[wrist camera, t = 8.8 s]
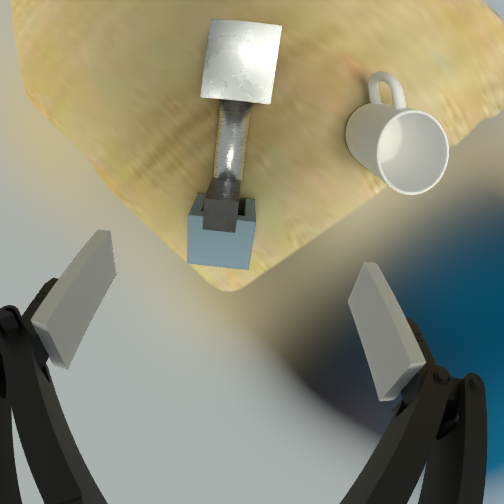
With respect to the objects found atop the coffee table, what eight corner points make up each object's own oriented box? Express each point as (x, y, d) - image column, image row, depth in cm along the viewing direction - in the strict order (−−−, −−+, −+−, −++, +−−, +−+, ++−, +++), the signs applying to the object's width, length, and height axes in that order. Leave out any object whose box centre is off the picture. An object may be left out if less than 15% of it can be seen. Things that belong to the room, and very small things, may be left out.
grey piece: (223, 93, 28) (212, 93, 20) (252, 96, 29) (254, 97, 21) (211, 216, 36) (199, 257, 28) (236, 219, 36) (233, 260, 28)
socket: (198, 193, 36) (188, 214, 30) (254, 199, 36) (255, 222, 30) (195, 236, 39) (187, 263, 33) (248, 241, 39) (248, 270, 34)
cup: (350, 172, 34) (382, 203, 25) (328, 77, 28) (359, 74, 20) (407, 160, 33) (450, 186, 24) (391, 69, 27) (437, 68, 18)
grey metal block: (218, 31, 25) (211, 18, 20) (276, 37, 26) (282, 25, 20) (209, 96, 29) (200, 97, 24) (266, 102, 30) (270, 104, 24)
